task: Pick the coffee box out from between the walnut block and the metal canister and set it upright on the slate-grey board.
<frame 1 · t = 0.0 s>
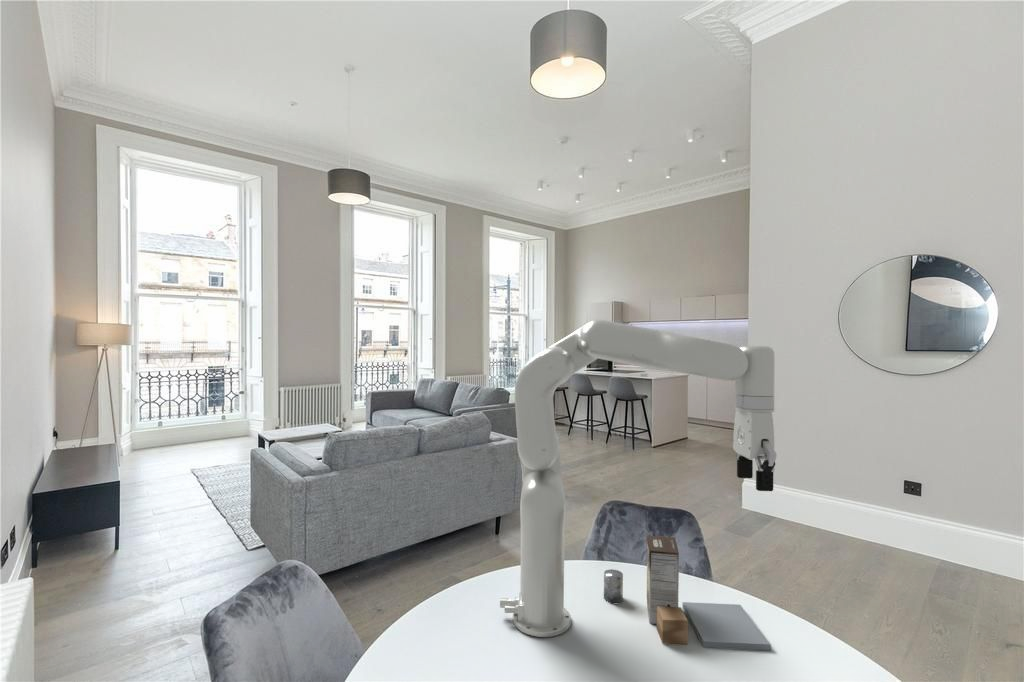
hand: (754, 483, 103), 31 cm above the table, tool pointing down, fingers open, 9 cm apart
metal canister: (613, 598, 116), on the table
walnut block: (671, 637, 100), on the table
coffee box: (661, 615, 109), on the table
slate board: (723, 627, 104), on the table
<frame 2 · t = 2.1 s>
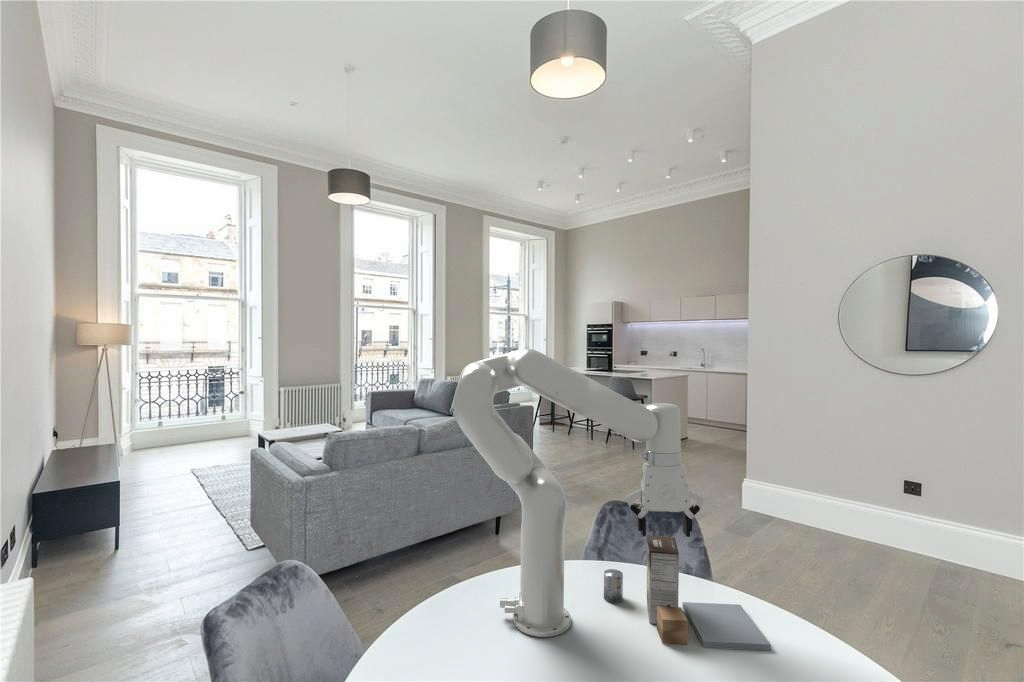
hand: (664, 534, 109), 18 cm above the table, tool pointing down, fingers open, 9 cm apart
nothing on the table moved.
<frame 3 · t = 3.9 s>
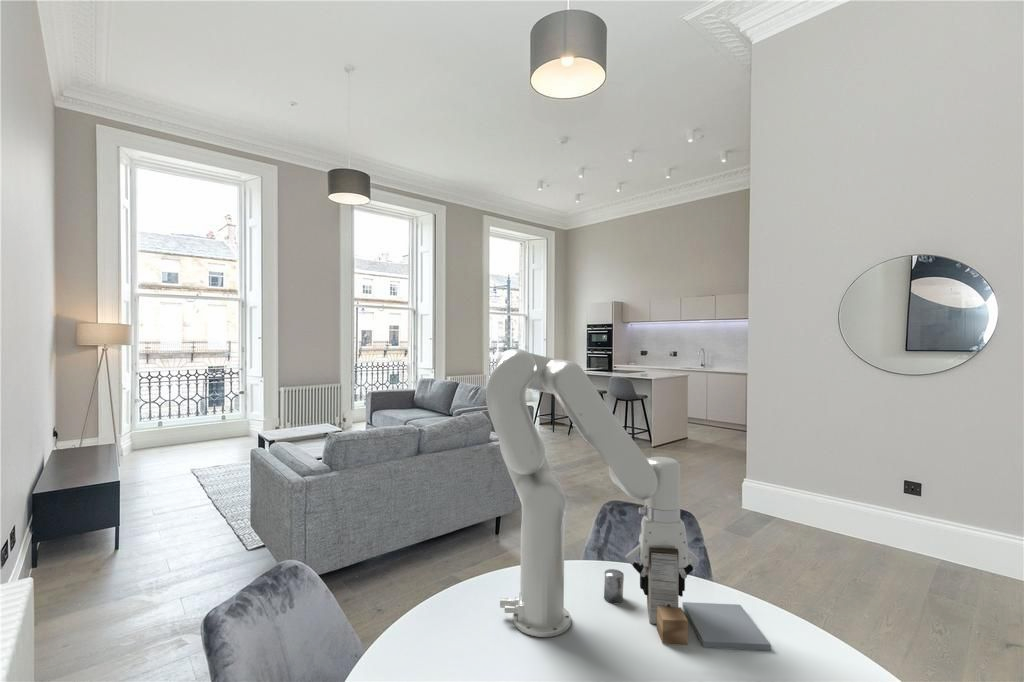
hand: (662, 592, 109), 5 cm above the table, tool pointing down, fingers closed on coffee box, 6 cm apart
coffee box: (662, 615, 109), on the table, touching gripper
everything else where it was.
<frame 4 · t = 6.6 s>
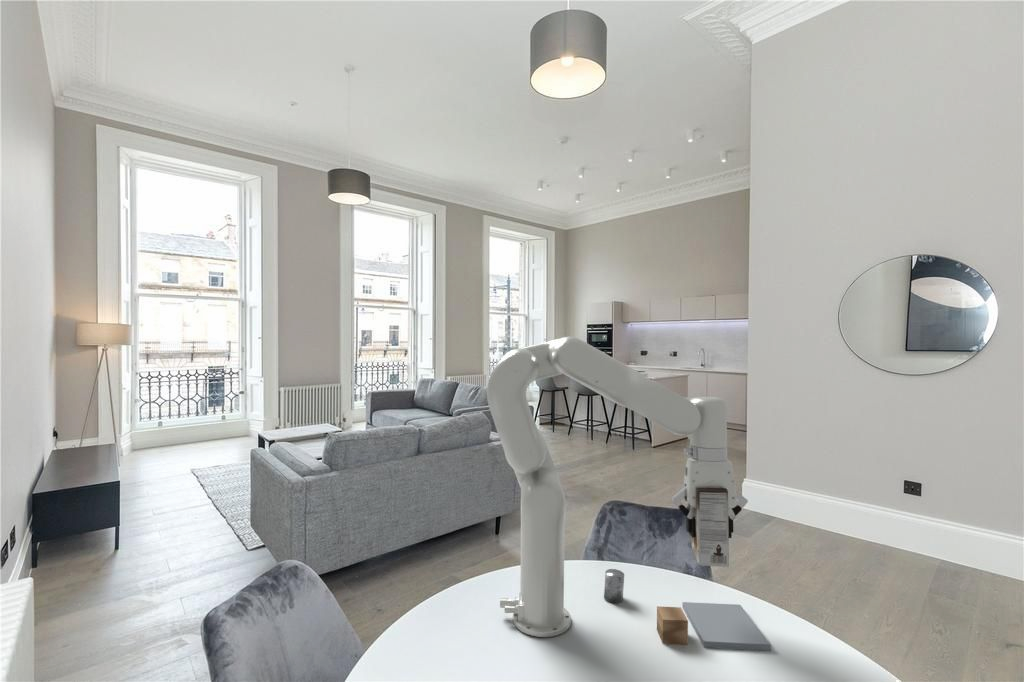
hand: (709, 534, 106), 19 cm above the table, tool pointing down, fingers closed on coffee box, 6 cm apart
coffee box: (709, 558, 106), point 14 cm above the table, touching gripper
everything else where it was.
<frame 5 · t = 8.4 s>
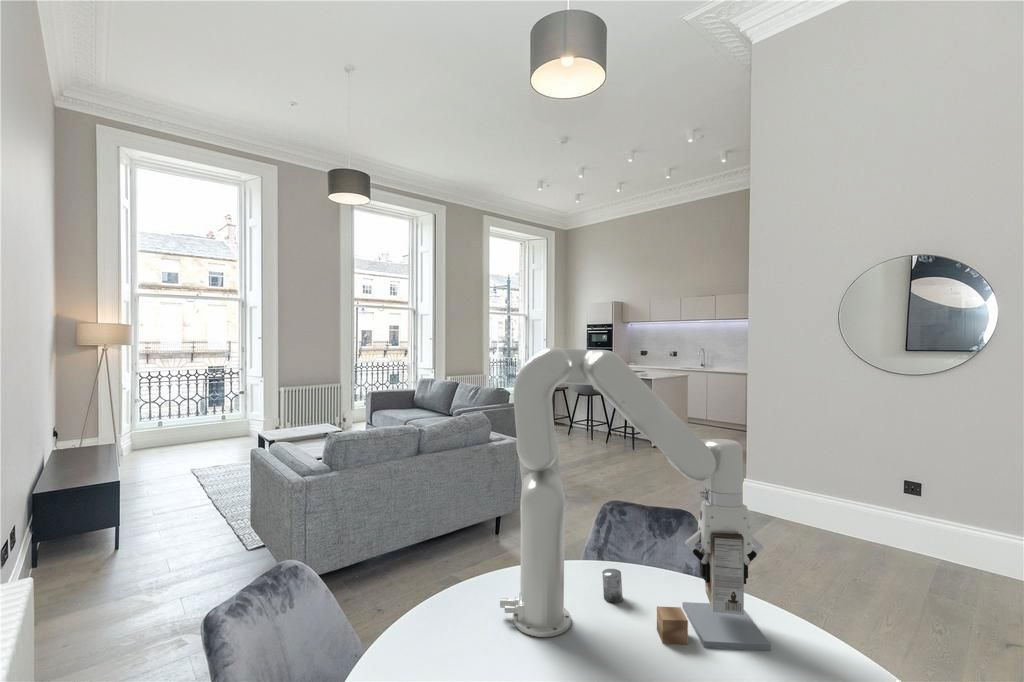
hand: (723, 579, 104), 10 cm above the table, tool pointing down, fingers closed on coffee box, 6 cm apart
coffee box: (723, 603, 104), point 5 cm above the table, touching gripper
everything else where it was.
when the fingers open (7 cm above the table, at t = 9.5 s): coffee box stays where it is, resting on slate board.
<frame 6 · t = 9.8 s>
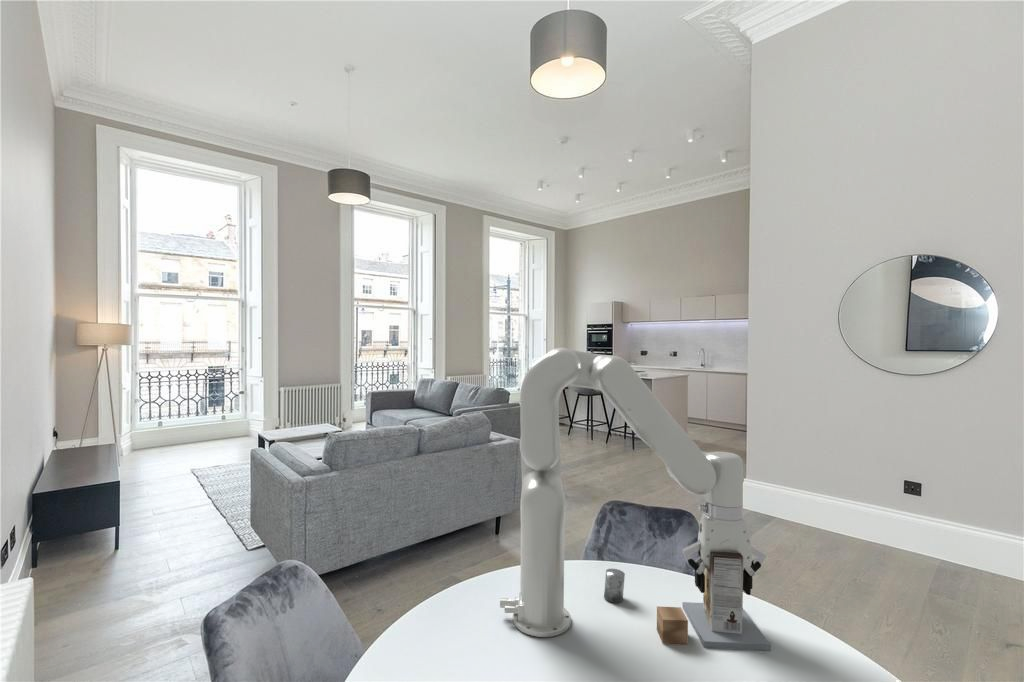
hand: (723, 590, 104), 8 cm above the table, tool pointing down, fingers open, 9 cm apart
coffee box: (722, 622, 104), point 1 cm above the table, touching slate board
everything else where it was.
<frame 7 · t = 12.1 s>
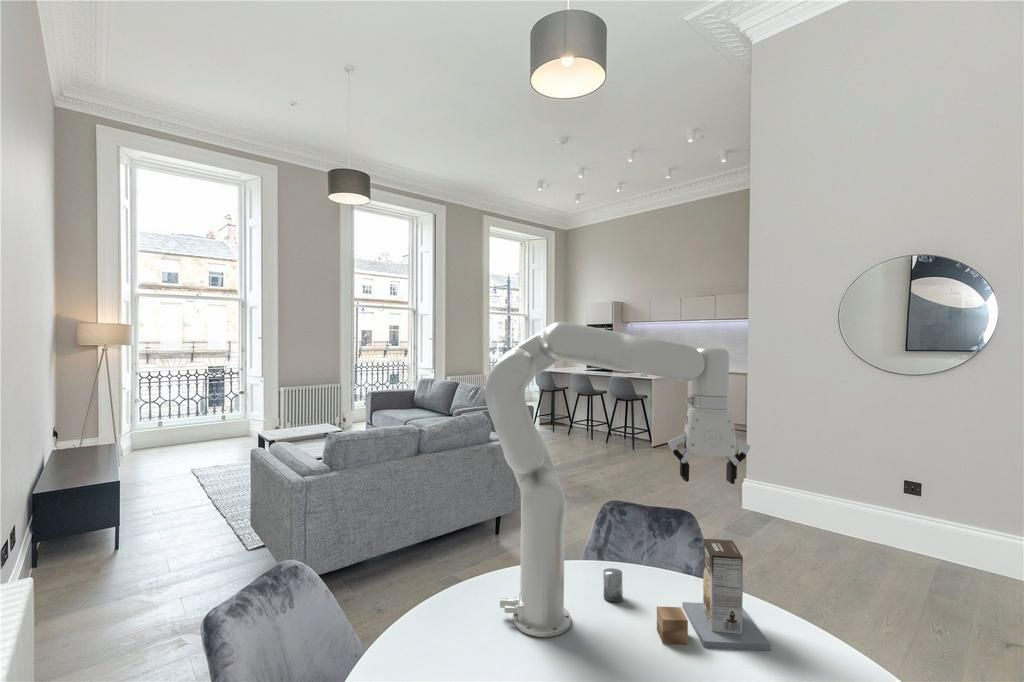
hand: (707, 481, 107), 31 cm above the table, tool pointing down, fingers open, 9 cm apart
nothing on the table moved.
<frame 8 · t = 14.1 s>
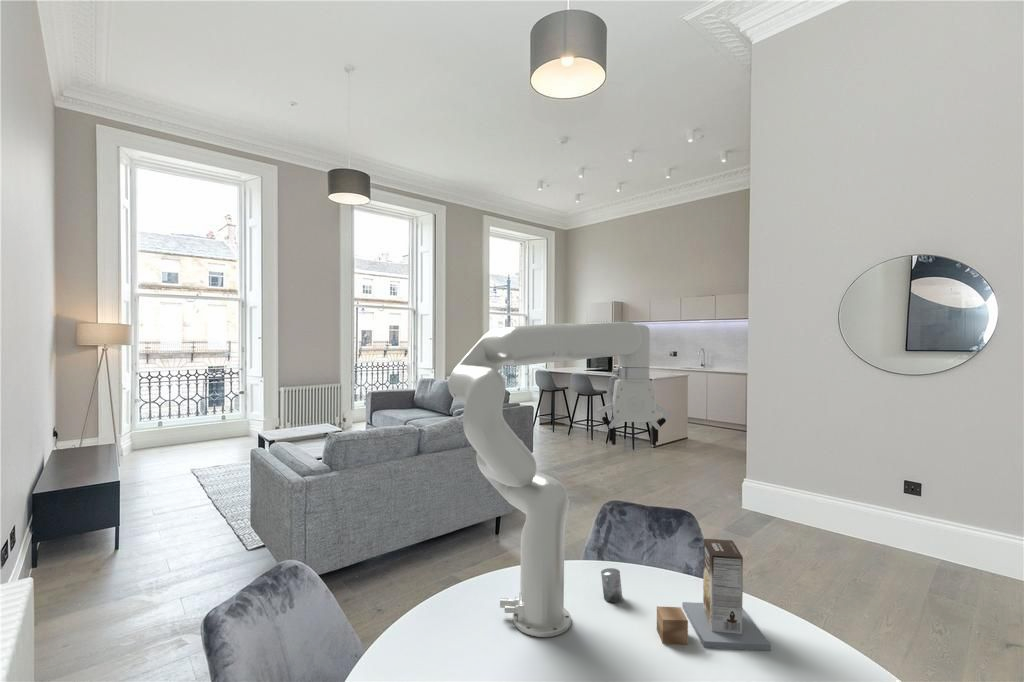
hand: (633, 444, 119), 36 cm above the table, tool pointing down, fingers open, 9 cm apart
nothing on the table moved.
at the end: coffee box inside the target area on the slate board (0.2 cm from its centre), point 1.0 cm above the slate board's base; coffee box tilted 0°; the gripper is holding nothing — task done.
